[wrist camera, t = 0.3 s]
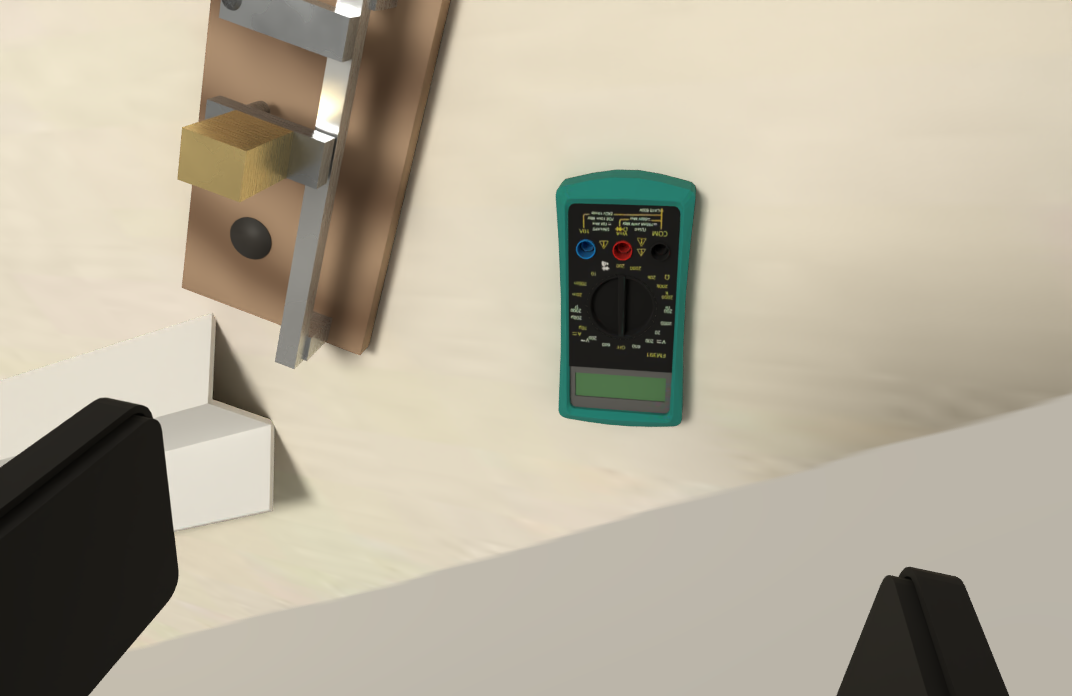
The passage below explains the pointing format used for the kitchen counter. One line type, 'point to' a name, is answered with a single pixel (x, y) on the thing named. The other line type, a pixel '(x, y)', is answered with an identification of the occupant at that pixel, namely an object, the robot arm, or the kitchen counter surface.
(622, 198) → the digital multimeter
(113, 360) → the z bracket
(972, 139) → the kitchen counter surface
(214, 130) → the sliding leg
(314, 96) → the bolt plate
